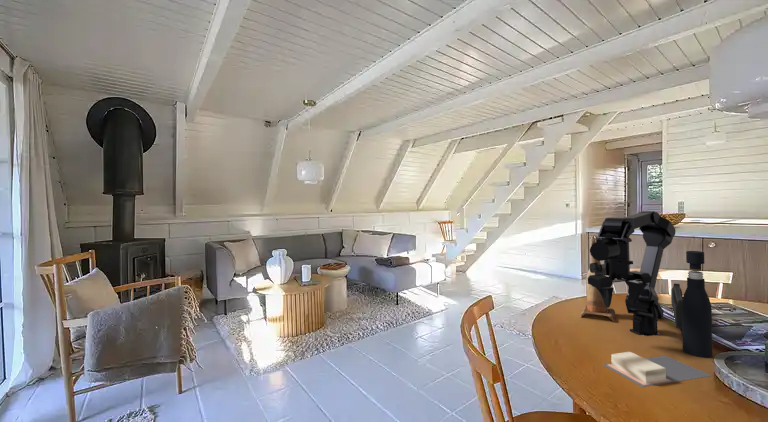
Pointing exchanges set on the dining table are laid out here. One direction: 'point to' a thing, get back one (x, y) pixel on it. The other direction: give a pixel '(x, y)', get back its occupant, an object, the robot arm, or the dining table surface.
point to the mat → (673, 371)
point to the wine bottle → (696, 311)
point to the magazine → (677, 304)
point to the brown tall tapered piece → (596, 297)
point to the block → (638, 367)
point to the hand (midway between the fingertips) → (619, 305)
